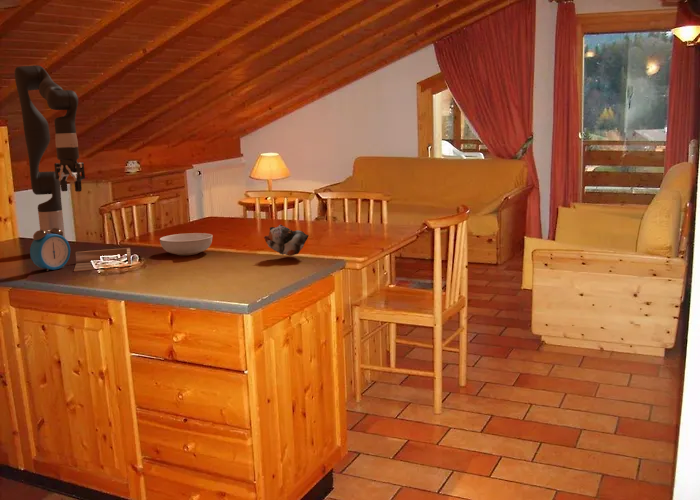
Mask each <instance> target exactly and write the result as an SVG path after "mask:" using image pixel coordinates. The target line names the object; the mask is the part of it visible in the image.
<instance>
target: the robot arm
mask: <svg viewBox="0 0 700 500" xmlns="http://www.w3.org/2000/svg"><path fill="white" fill-rule="evenodd" d="M14 80H15V85H16V90H17V95H18V100H19V105H20V108H21V117H22V125H23V133H24V139H25V143H26V150H27V154H28V155H27V156H28V164H29V165H28V166H29V176H30V186H31V190H32V192H33V194H34V195H37V196H38V195H39V196H41V195H51V198H49V199H48V200H46V201H44V202H42V203H39V204H38V205H37V215H38V224H39V230H44V231H46V233H48V232H47V231H48V230H51V229H53V228H59V229H61V230H62V231H63V234H64V235H63V237H64V238H65V239H66V236H65V235H66V234H65V225H64V224H65V223H64V215H63V203H62V195H61V193H62V192H67V191H68V181H67V179H68V177H69V176H71V177H72V178H73V180H74V191H75V192H82V190H83V189H82V180H85V179H86V175H85V174H86V173H85V165H84V164H85V163H84V162H81V161H79V162H78V160H79V158H80V152H79V143H78V142H79V140H78V137H77V130H76V129H77V127H76V119H77V118H76V116H77V112H78V111H77V110H78V106H79V96H78V95H77V92H75V91H74V90H71V89H70V90H69V89H63V87H62V86H60V85H59V84H58V83H56V82H54V80H53V79H52V77H51V76H50V74H49V73H48V71H47V70H46V69H45V68H44V67H43V66H41V65H24V66H23V65H22V66H16V67H15V68H14ZM35 90H36V91H38V93H39V94H40V96H41V97H42V98H43V99H45V100H46V102H47V103H46V104H47V106H48V108H49V109H51V110H54V111H66V112H65V115H62V116H58V117H55V118H54V124H53V125H54V131H55V132H54V133H55V139H54V140H55V141H54V142H55V149H56V151H55V152H56V159H57V160H59V162H54V165H53V166H54V171H39V167H40V162H41V160H42V157H43V156H44V153H45V151H46V150H47V148H49V144H50V142H51V134H50V129H49V128H50V125H49V123H48V120H47V119H46V118H45V117H44V115H43V114H42V113H41V112H40V111H39V109H38V108H37V107H36V106H35V104H34V103H33V102H32V99H31V96H30V94H29V91H35ZM49 234H52V233H50V231H49Z"/></svg>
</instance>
